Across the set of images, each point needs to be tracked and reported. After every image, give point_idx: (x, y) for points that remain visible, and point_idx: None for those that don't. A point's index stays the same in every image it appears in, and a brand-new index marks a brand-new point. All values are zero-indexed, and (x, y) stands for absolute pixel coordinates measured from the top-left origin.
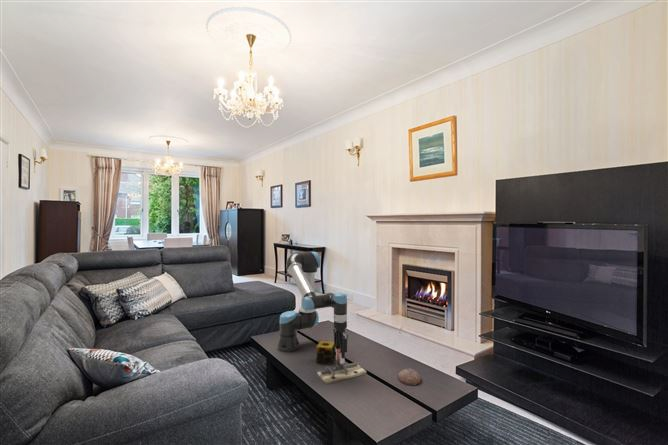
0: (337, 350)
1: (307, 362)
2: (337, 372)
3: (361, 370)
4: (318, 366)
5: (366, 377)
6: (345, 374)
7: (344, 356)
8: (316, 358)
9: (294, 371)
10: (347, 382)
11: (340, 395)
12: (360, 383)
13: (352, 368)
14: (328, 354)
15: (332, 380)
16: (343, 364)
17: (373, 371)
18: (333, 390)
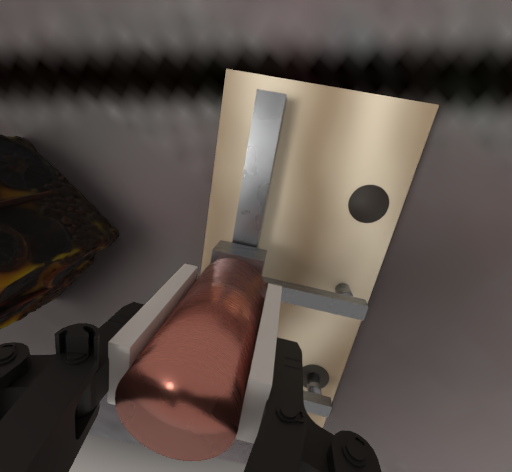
0: (181, 449)
1: (26, 331)
2: None
3: (383, 134)
4: (103, 317)
5: (474, 161)
6: (334, 289)
7: (301, 364)
8: (24, 315)
9: (99, 433)
10: (405, 324)
11: (483, 444)
12: (496, 269)
13: (294, 176)
14: (34, 274)
15: (333, 395)
16: (261, 274)
17: (454, 6)
18: (408, 434)
